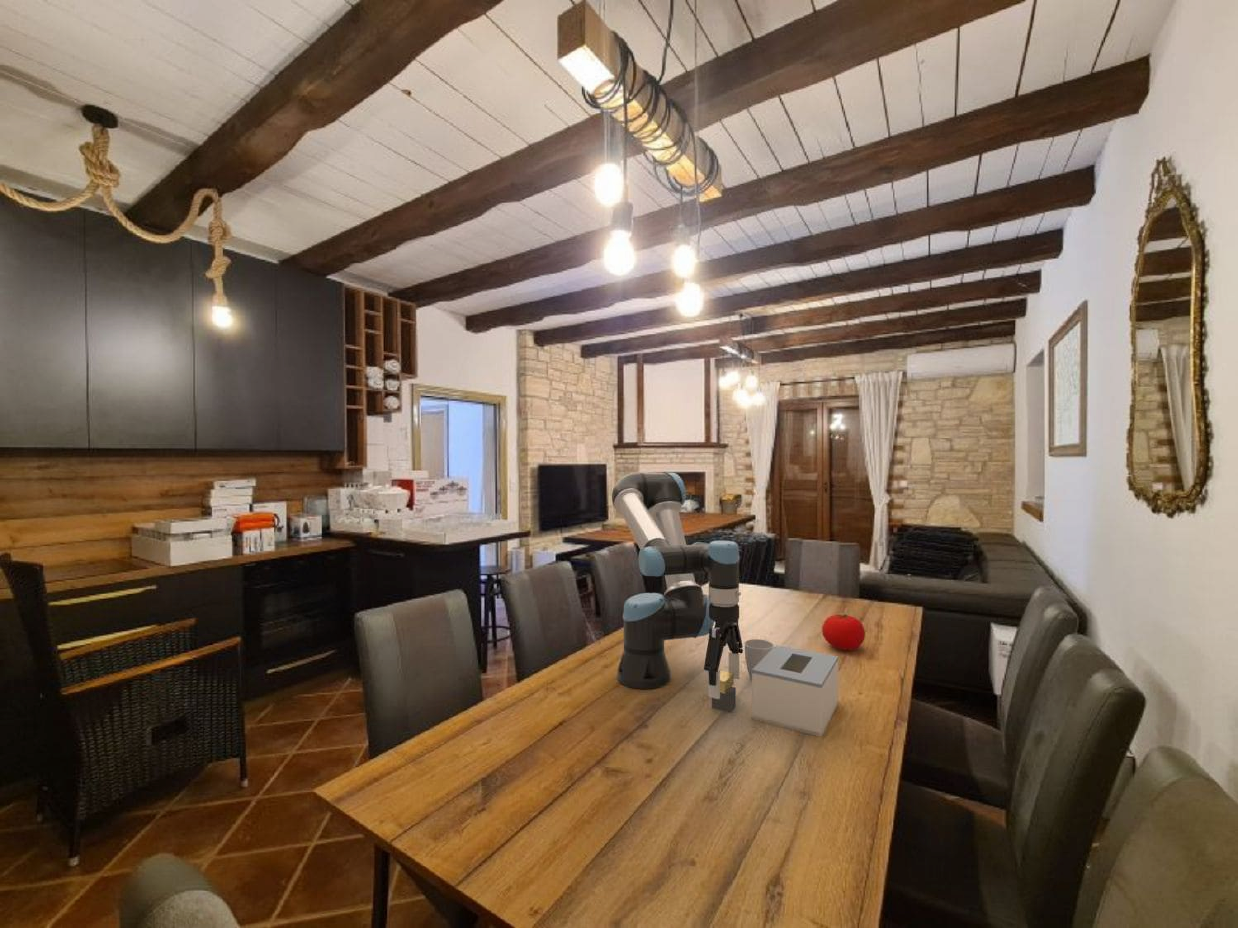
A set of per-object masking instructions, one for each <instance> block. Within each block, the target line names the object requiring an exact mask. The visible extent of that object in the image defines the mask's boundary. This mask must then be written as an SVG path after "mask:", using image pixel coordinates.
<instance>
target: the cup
mask: <svg viewBox="0 0 1238 928" xmlns="http://www.w3.org/2000/svg"><path fill="white" fill-rule="evenodd" d="M743 645H744V646H743V647H744V655H745V656H744V657H745V664H746V665H745V666H746V670H747V673H748V677H749V679H750V681H752V669H753V668H754V667H755V666H756V665H757V664H758V663H759V662H760V661H761V660H762V659H763V658H764V657H765V656H766V655H767V654H768V653H769V652H770V651H771V650H772V649H773V648H774V647H775V645H774V643H773V642H771V641H769V640H765V639H761V638H760V639H759V638H752V639H748V640H745V641H744V644H743Z"/></svg>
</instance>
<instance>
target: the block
mask: <svg viewBox="0 0 1238 928" xmlns="http://www.w3.org/2000/svg"><path fill="white" fill-rule="evenodd" d="M736 688H737V687H735V686H732V687H731V688H730V689H729V690H728V691H727V692H726V693H725V694H724V693H720V699H716V698H712V697H711V709H714V710H718V711H723V712H726V713H732V712H733V711H734V710H735V709H736V707H737V706H736V703H737V701H736V699H737V695H736V693H737V691H736V690H737V689H736Z"/></svg>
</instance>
